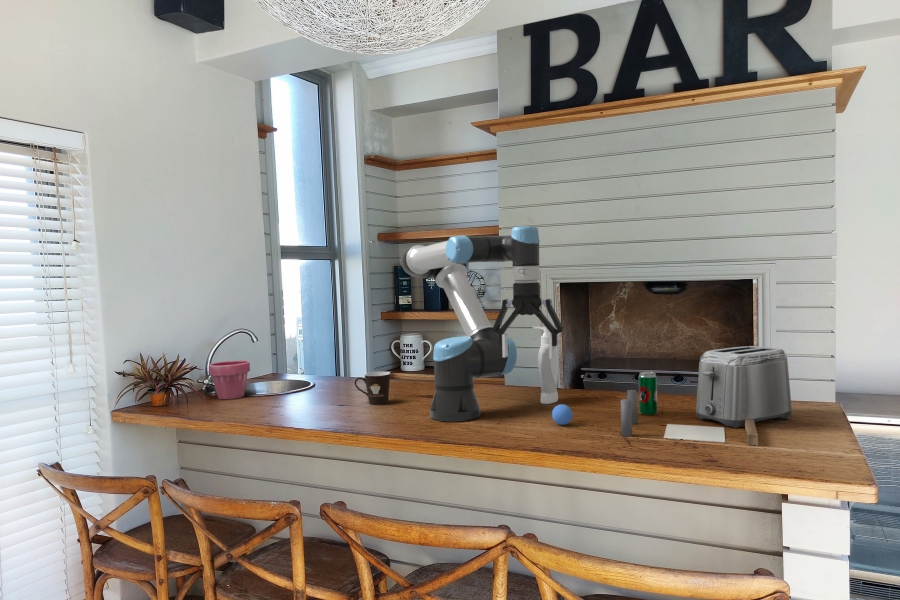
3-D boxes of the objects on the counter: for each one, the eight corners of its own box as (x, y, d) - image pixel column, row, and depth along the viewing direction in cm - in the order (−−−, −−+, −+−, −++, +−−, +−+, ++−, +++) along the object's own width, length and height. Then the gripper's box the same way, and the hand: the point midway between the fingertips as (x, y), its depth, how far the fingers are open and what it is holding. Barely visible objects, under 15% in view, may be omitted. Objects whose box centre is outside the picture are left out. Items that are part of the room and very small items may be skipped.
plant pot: (228, 392, 237) (227, 359, 237) (259, 393, 233) (257, 360, 232) (202, 400, 224) (200, 365, 223) (234, 401, 219) (232, 366, 218)
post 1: (620, 436, 157) (620, 401, 156) (622, 433, 159) (621, 399, 159) (631, 436, 156) (630, 401, 155) (632, 434, 158) (631, 399, 158)
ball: (550, 426, 169) (549, 406, 169) (554, 421, 174) (554, 402, 174) (570, 427, 167) (569, 407, 166) (574, 422, 172) (574, 403, 172)
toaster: (683, 418, 172) (682, 351, 171) (759, 406, 184) (758, 342, 183) (732, 432, 157) (731, 358, 156) (811, 417, 168) (811, 348, 168)
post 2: (627, 424, 168) (626, 391, 168) (628, 421, 171) (627, 389, 170) (636, 424, 167) (636, 391, 167) (638, 422, 170) (637, 390, 169)
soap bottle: (541, 396, 209) (539, 324, 208) (563, 397, 205) (561, 325, 204) (527, 404, 198) (525, 328, 197) (550, 405, 194) (548, 328, 193)
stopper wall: (748, 445, 145) (748, 434, 145) (745, 428, 160) (744, 418, 160) (757, 446, 144) (757, 435, 144) (753, 429, 159) (753, 419, 159)
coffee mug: (396, 401, 209) (395, 372, 209) (380, 406, 202) (379, 376, 201) (370, 398, 215) (368, 370, 215) (353, 403, 208) (352, 374, 208)
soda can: (658, 415, 177) (657, 374, 176) (640, 415, 178) (639, 374, 177) (656, 411, 182) (655, 371, 181) (638, 411, 183) (637, 371, 182)
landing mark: (663, 438, 153) (663, 437, 153) (667, 424, 166) (667, 424, 166) (725, 442, 148) (725, 441, 148) (724, 428, 161) (724, 427, 161)
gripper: (480, 283, 174) (482, 358, 175) (568, 281, 164) (569, 360, 165) (488, 282, 180) (490, 354, 182) (573, 280, 171) (574, 356, 172)
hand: (528, 357), depth 174 cm, fingers open, 13 cm apart
